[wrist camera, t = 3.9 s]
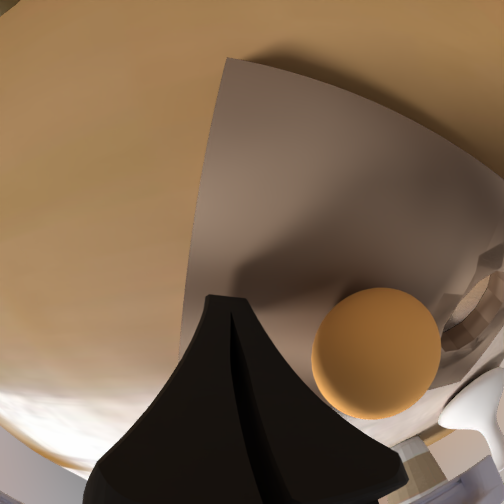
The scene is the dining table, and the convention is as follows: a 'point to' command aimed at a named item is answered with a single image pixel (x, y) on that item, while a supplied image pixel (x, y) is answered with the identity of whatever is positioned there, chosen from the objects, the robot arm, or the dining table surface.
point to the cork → (6, 5)
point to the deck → (339, 216)
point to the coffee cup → (416, 472)
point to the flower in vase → (479, 411)
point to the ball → (376, 353)
